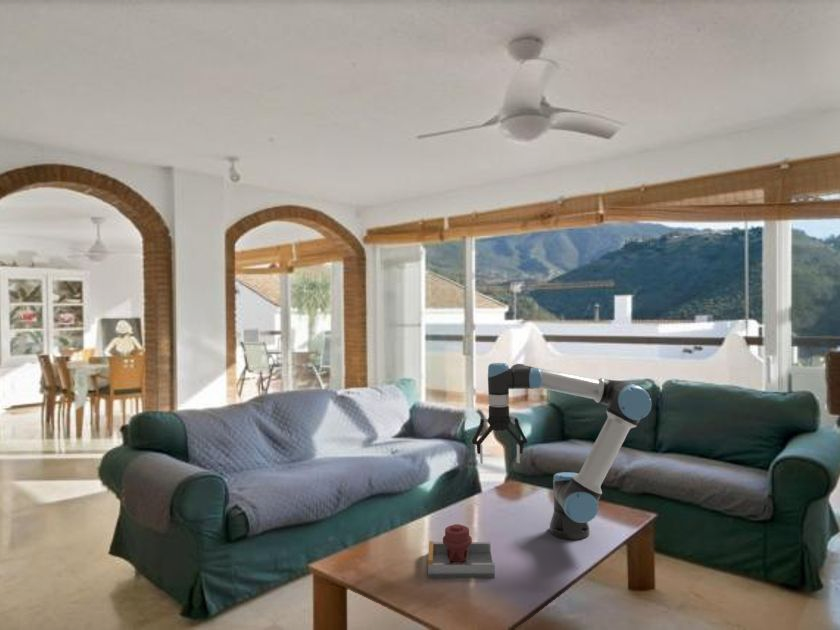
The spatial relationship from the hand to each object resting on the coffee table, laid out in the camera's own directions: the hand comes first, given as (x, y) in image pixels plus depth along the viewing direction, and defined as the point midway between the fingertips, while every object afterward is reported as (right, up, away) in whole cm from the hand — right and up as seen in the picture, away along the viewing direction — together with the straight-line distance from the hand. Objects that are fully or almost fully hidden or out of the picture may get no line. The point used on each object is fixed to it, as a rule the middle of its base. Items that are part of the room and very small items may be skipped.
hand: (499, 462), depth 210 cm
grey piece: (-15, -32, -13) cm, 38 cm away
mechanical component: (-16, -31, -13) cm, 38 cm away
